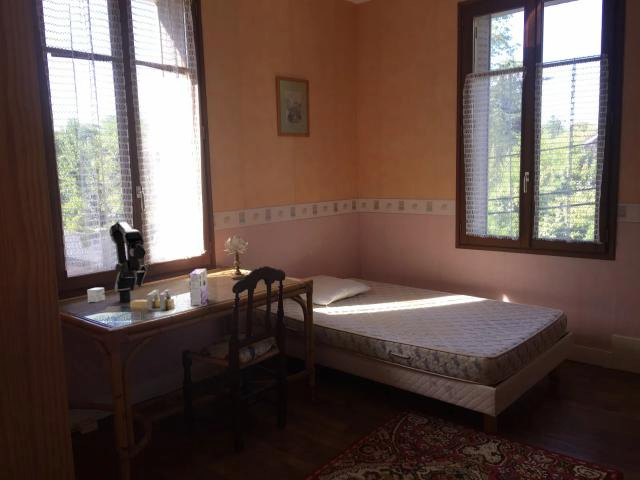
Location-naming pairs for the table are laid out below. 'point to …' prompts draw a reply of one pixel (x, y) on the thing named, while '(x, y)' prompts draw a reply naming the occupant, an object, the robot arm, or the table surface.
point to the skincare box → (96, 294)
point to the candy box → (198, 287)
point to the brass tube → (156, 304)
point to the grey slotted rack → (149, 302)
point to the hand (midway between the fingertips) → (136, 288)
